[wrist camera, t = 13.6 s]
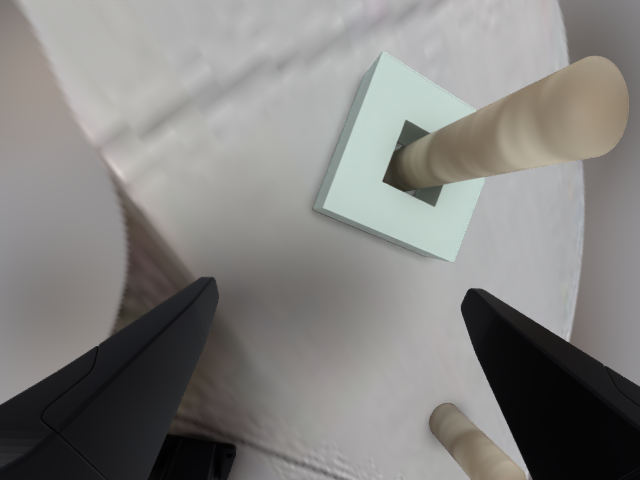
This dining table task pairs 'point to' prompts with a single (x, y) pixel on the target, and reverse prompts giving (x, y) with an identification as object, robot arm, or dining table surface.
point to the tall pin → (522, 130)
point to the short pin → (472, 446)
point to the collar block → (374, 156)
